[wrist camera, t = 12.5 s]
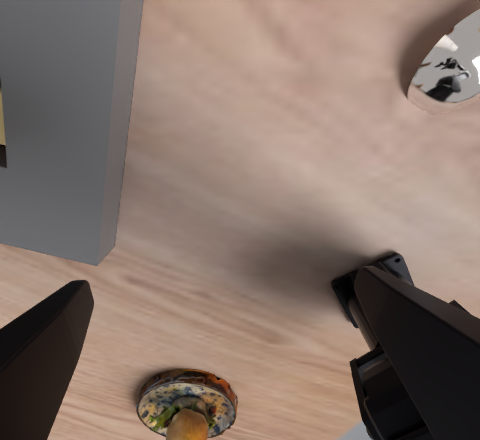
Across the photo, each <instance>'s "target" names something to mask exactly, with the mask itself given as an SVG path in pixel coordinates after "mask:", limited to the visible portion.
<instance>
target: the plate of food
mask: <svg viewBox="0 0 480 440" xmlns="http://www.w3.org/2000/svg"><path fill="white" fill-rule="evenodd" d="M237 404H238V401H237V397H236V396H235V393H234V394H233V392H232V391H231V388H230V385H229V384H228V383H226V381H225V380H223V379H220V380H217V378H216V377H215V375H214V374H211V373H209V372H205V371H200V370H192V369H176V370H171V371H166V372H163V373H160V374H157V375H155V376H153V377H152V378H150V379H149V380H148V381H147V382H146V383H145V384H144V386H143V387H142V389H141V392H140V399H139V401H138V403H137V406H136V407H137V414H138V417H139V419H140V420H141V421H142V422H143V424H144V425H145V426H147V427H148V428H149V429H150V430H152V431H154V432H155V433H157V434H160V435H162V436H165V437H166V440H207V438H212V437H216V436H219V435H222V434H223V432H224V431H225V430H226V429H229V428H230V427H231V426H232V425H233V424H234V422H235V419H236V413H237Z"/></svg>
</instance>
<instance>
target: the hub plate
mask: <svg viewBox="0 0 480 440" xmlns="http://www.w3.org/2000/svg"><path fill="white" fill-rule="evenodd" d="M142 9H143V0H0V78H1V88H0V144H3V145H6V149H4V148H0V243H2V244H6V245H10V246H14V247H18V248H23V249H27V250H31V251H35V252H40V253H44V254H48V255H52V256H56V257H61V258H65V259H69V260H73V261H78V262H82V263H86V264H90V265H95V266H98V265H99V264H100V262H101V261H102V260H103V259H104V258H105V257H106V256H107V254H108V253H109V252H110V251H111V250H112V249H113V247H114V246H115V239H116V231H117V222H118V214H119V205H120V197H121V188H122V180H123V171H124V163H125V154H126V146H127V137H128V128H129V120H130V111H131V103H132V94H133V86H134V77H135V69H136V60H137V52H138V43H139V35H140V26H141V18H142Z"/></svg>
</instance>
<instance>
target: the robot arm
mask: <svg viewBox="0 0 480 440" xmlns="http://www.w3.org/2000/svg"><path fill="white" fill-rule="evenodd" d="M396 258H398V259H397V260H395V259H396ZM337 284H339V285H338V286H336V285H337ZM331 286H332V288H333V290H334V292H335V294H336V295H337V297H338V299H339V301H340V303H341V304H342V306H343V308H344V310H345V311H346V313H347V315H348V317H349V319H350V320H351V322H352V324H353V326H354V327H355V328H359V329H360V331H361V333H362V335H363V337H364V339H365V341H366V342H367V344H368V346H369V348H370V350H371V351H370V352H368V353H366V354H364V355H363V356H361V357H359V358H358V359H356V358H355V359H353V360H352V361H350V367H351V371H352V377H353V382H354V386H355V391H356V395H357V400H358V404H359V408H360V413H361V417H362V421H363V423H364V424H365V426H366V430H367V433H368V435H369V436H370V438H371V439H372V440H480V319H479V318H477V317H475V316H473V315H471V314H470V313H469V312H468V311H467V310H465V309H464V308H463V307H462V306H461V305H460V304H458V303H457V302H456V301H455V300H453V301H451V302H450V303H447V302H445V301H443V300H441V299H439V298H437V297H435V296H432V295H430V294H428V293H426V292H424V291H422V290H420V289H418V288H416V287H415V286H414V284H413V281H412V278H411V276H410V273H409V271H408V268H407V266H406V263H405V261H404V258H403V257H402V256H401V255H400V254H399V253H394V254H392V255H389V256H387V257H385V258H383V259H380V260H378V261H376V262H374V263H371V264H369V265H367V266H363V267H361V268H360V269H358V270H356V271H353V272H351V273H349V274H347V275H344V276H342V277H340V278H338V279H335V280H333V281H332V282H331ZM93 307H94V299H93V296H92V292H91V288H90V285H89V282H88V281H86V280H75V281H71V282H69V283H68V284H66V285H65V286H63V287H62V288H60V289H59V290H57V291H56V292H54V293H53V294H51V295H50V296H48V297H47V298H46V299H44V300H43V301H41V302H40V303H38V304H37V305H35V306H34V307H32V308H31V309H29V310H28V311H26V312H25V313H23V314H22V315H20V316H19V317H17V318H16V319H14V320H13V321H12V322H10V323H9V324H7V325H6V326H4V327H3V328H1V329H0V440H47V438H48V436H49V433H50V431H51V428H52V426H53V423H54V421H55V418H56V416H57V413H58V411H59V408H60V406H61V403H62V401H63V398H64V396H65V393H66V391H67V388H68V386H69V383H70V380H71V378H72V375H73V373H74V370H75V368H76V365H77V363H78V360H79V357H80V354H81V351H82V347H83V344H84V340H85V337H86V333H87V329H88V326H89V322H90V318H91V315H92V311H93Z"/></svg>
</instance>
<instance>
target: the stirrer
mask: <svg viewBox="0 0 480 440" xmlns="http://www.w3.org/2000/svg"><path fill="white" fill-rule="evenodd" d="M407 97H408V100H409V101H410V102H411V103H412V104H414V105H415V106H416V107H418V108H419V109H421V110H423V111H424V112H426V113H428V114H442V113H447V112H451V111H455V110H458V109H460V108H463V107H465V106H467V105H469V104H470V103H472V102H474V101H475V100H477V99H478V98H480V9H478V10H477V11H475V12H474V13H472V14H470V15H469V16H467V17H466V18H465V19H463V20H462V21H460V22H459V23H458V24H456V25H455V26H454V27H453V28H452V29H450V30H449V31H448V32H447V33H446V34H445V35H444V36H443V37H442V38H441V39H440V40H439V41H438V43H437V44H436V45H435V46H434V47H433V48H432V50H431V51H430V52H429V54H428V55H427V56H426V58H425V59H424V61H423V62H422V64H421V65H420V67H419V68H418V70H417V72H416V73H415V75H414V77H413V79H412V81H411V84H410V86H409V89H408V96H407Z"/></svg>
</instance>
